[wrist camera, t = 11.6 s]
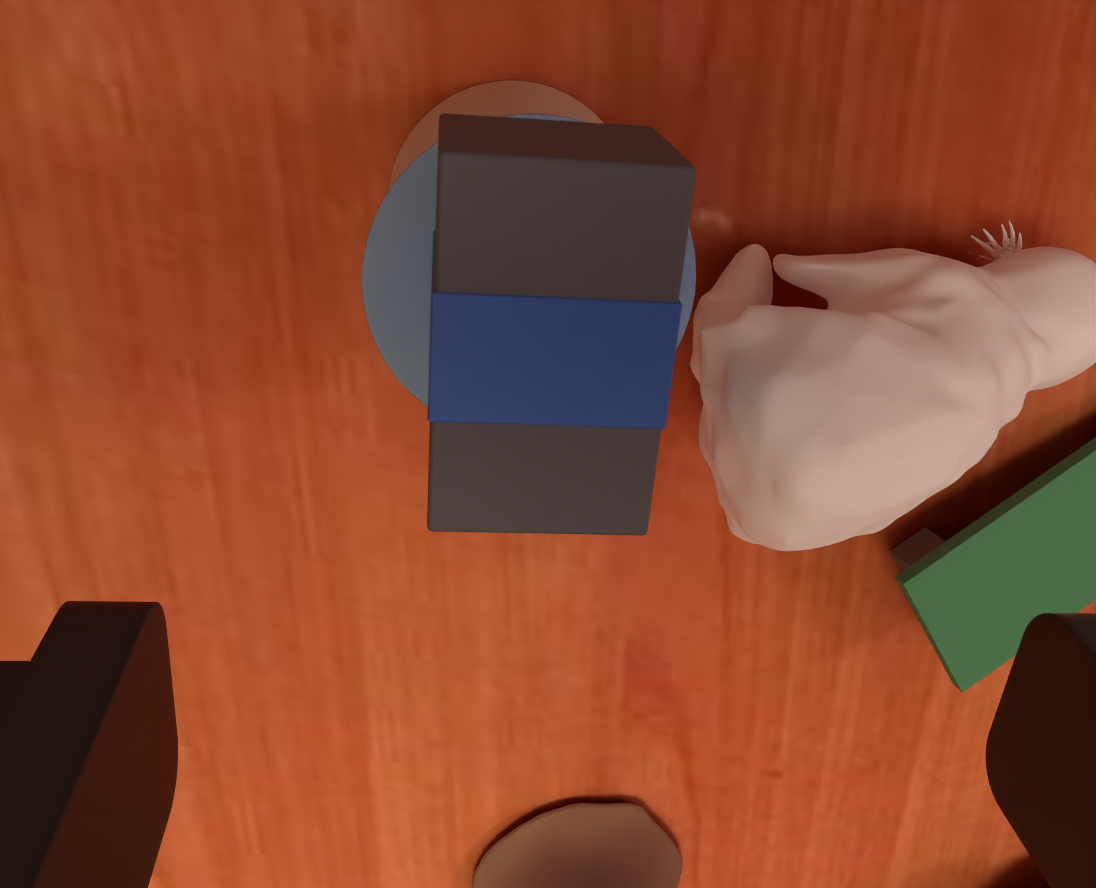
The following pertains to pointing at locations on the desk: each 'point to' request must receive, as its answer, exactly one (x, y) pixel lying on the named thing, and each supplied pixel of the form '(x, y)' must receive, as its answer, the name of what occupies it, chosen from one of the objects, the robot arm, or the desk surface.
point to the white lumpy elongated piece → (875, 378)
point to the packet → (552, 323)
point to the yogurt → (410, 219)
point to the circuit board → (1005, 569)
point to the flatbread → (583, 851)
